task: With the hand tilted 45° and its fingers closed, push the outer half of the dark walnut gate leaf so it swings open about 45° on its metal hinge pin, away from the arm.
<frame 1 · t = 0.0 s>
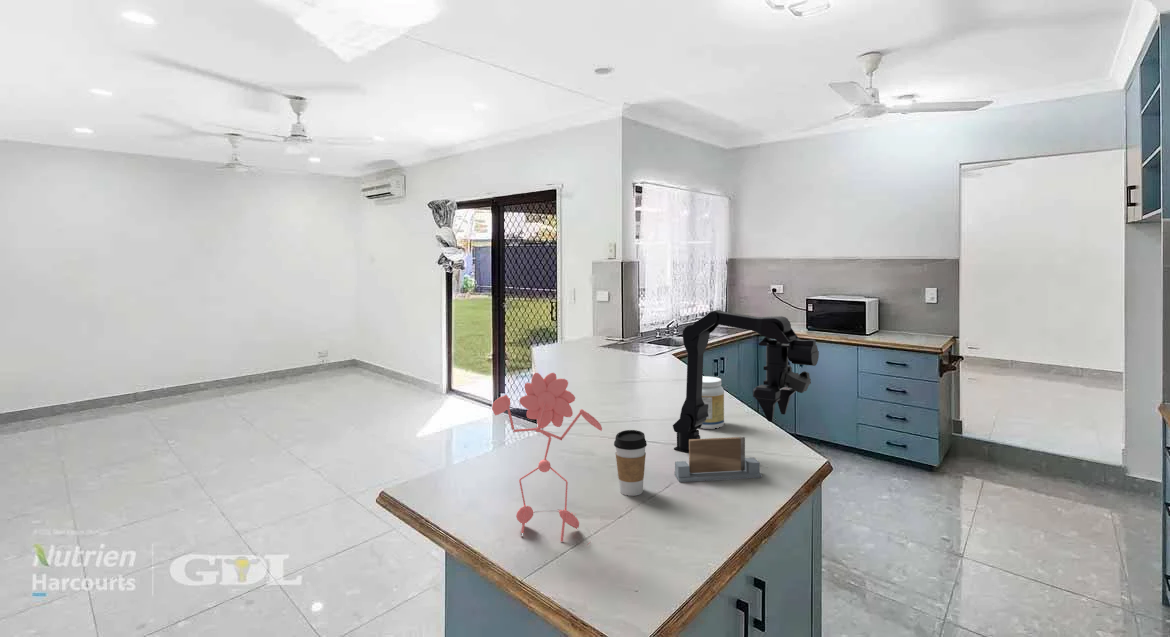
hand: (776, 417, 151), 15 cm above the counter, tool pointing down, fingers open, 9 cm apart
figurine: (552, 526, 122), on the counter
gate frame: (741, 475, 149), on the counter
supplement tub: (706, 425, 196), on the counter
gate leaf: (717, 454, 148), point 6 cm above the counter, hinge at 0.0°
coffee cup: (631, 491, 140), on the counter
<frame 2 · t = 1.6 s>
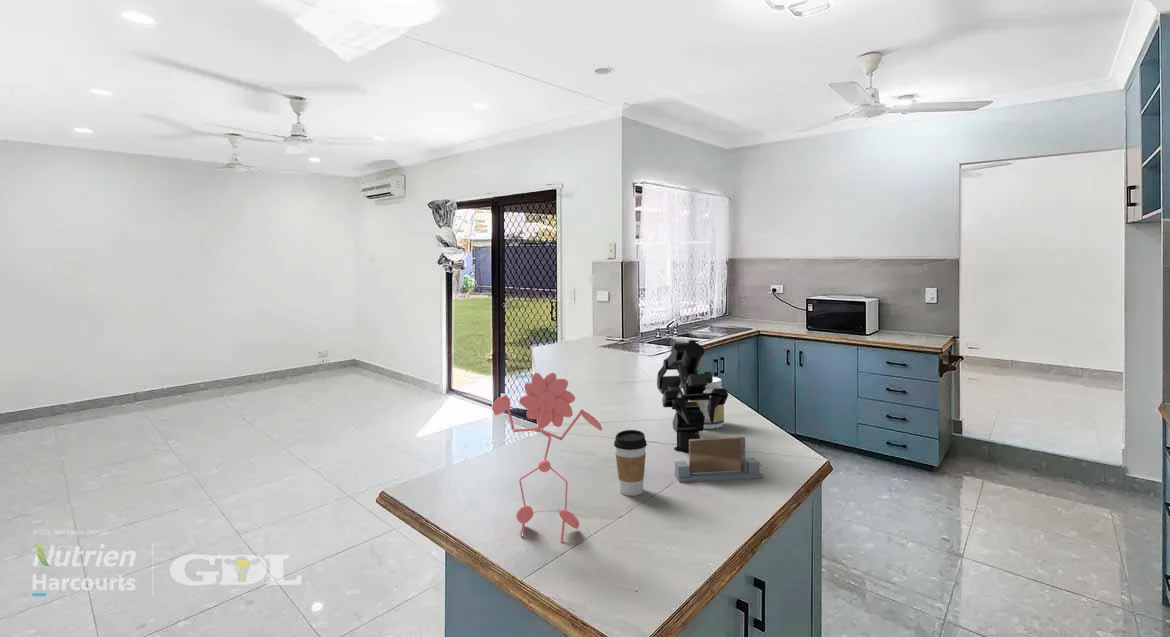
hand: (700, 423, 155), 13 cm above the counter, tool tilted 45°, fingers open, 7 cm apart
nothing on the counter moved.
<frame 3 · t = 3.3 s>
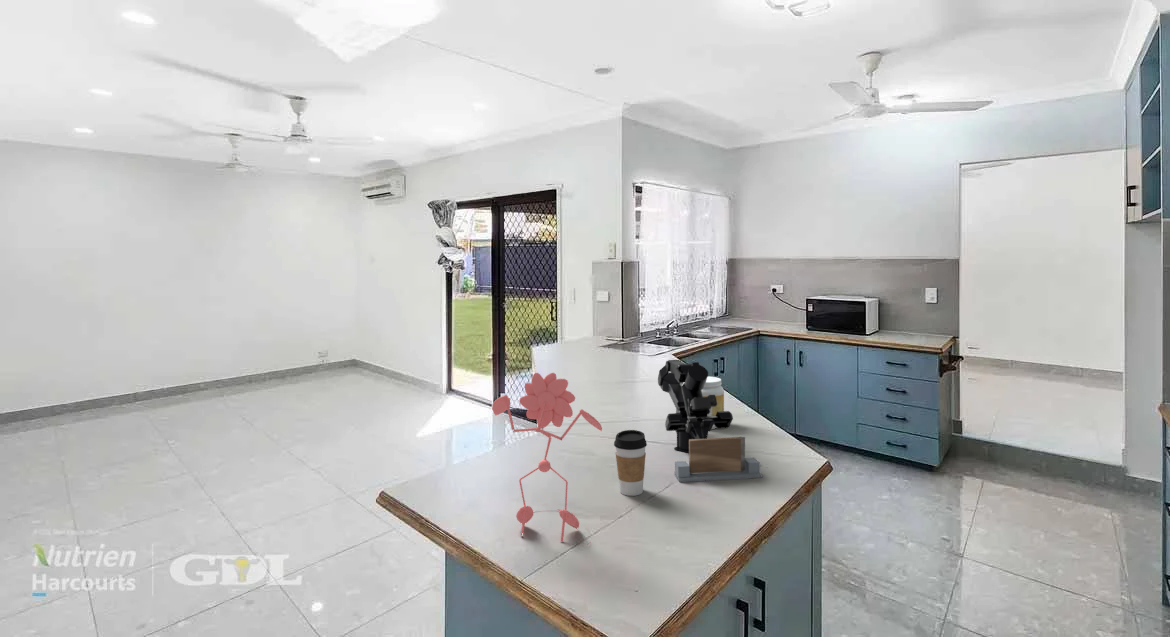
hand: (704, 447, 152), 7 cm above the counter, tool tilted 45°, fingers closed
nothing on the counter moved.
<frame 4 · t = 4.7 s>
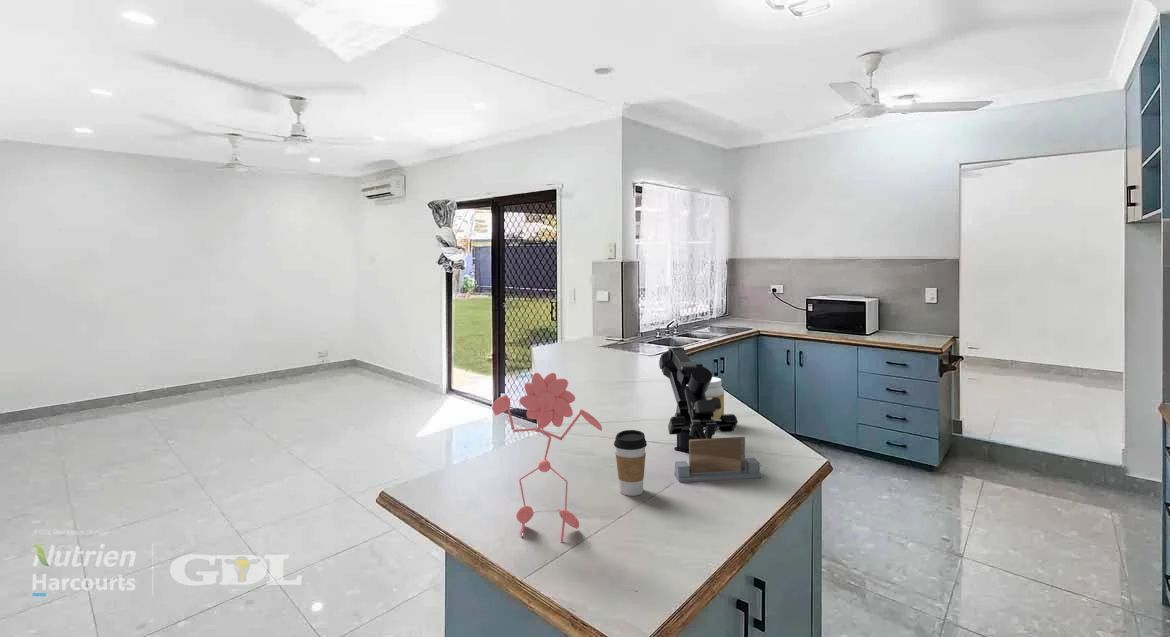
hand: (708, 451, 148), 7 cm above the counter, tool tilted 45°, fingers closed, pressing on gate leaf
gate leaf: (717, 455, 147), point 6 cm above the counter, hinge at 1.0°, touching gripper
everything else where it was.
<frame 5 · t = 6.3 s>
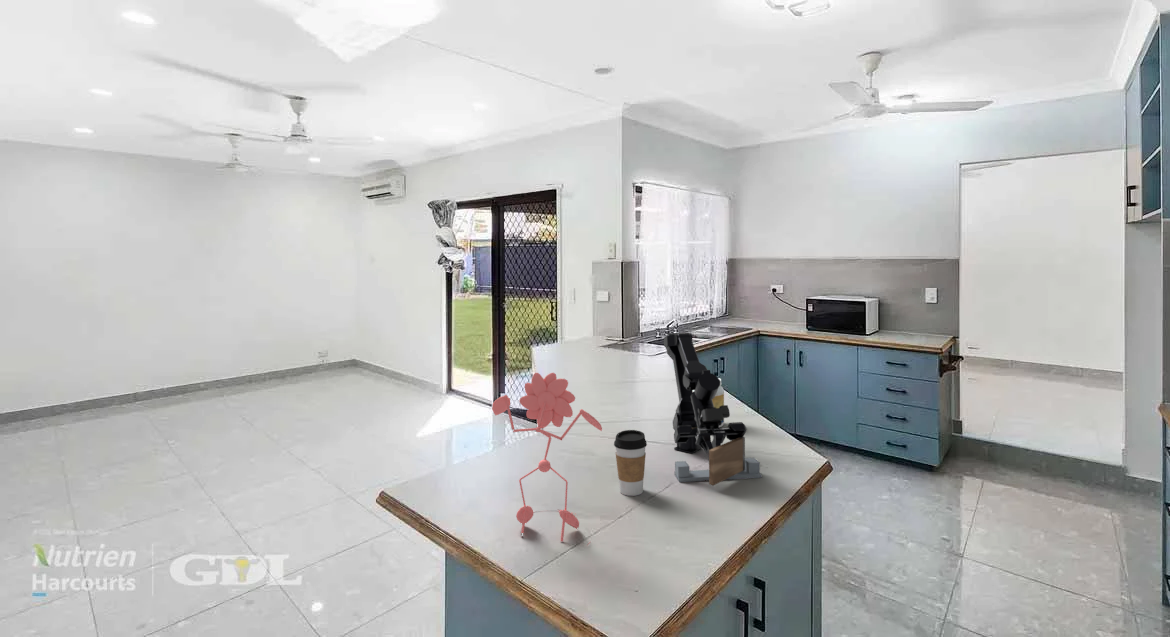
hand: (716, 462, 142), 6 cm above the counter, tool tilted 45°, fingers closed
gate leaf: (727, 460, 143), point 6 cm above the counter, hinge at 38.7°, touching gripper
everything else where it was.
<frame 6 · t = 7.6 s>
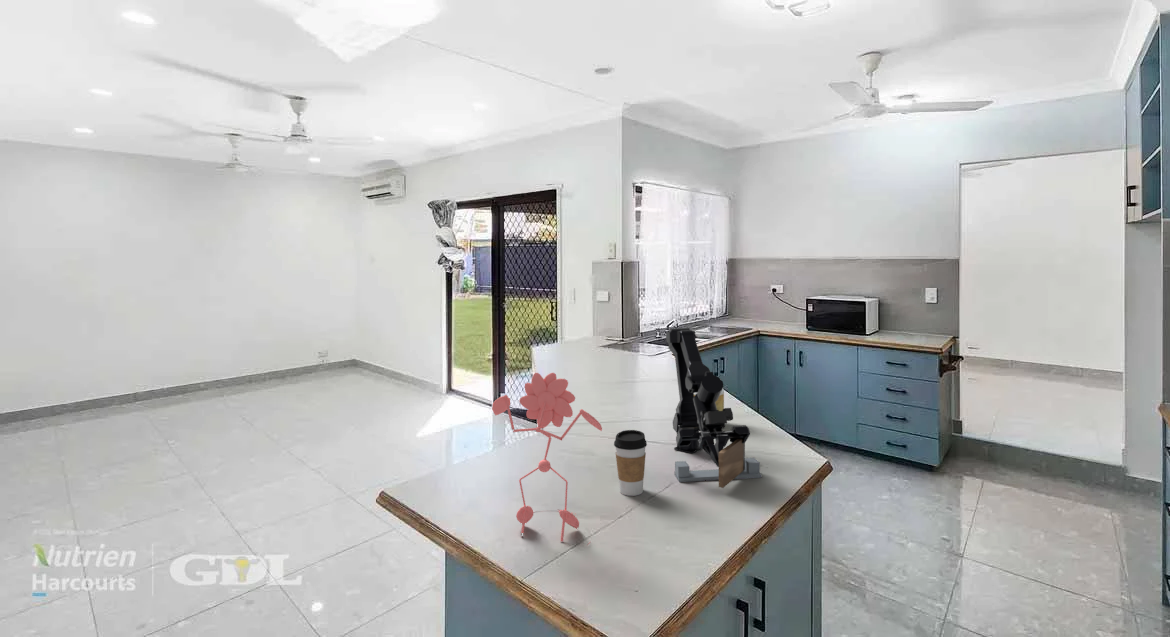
hand: (719, 466, 139), 6 cm above the counter, tool tilted 45°, fingers closed
gate leaf: (732, 461, 143), point 6 cm above the counter, hinge at 49.5°, touching gripper
everything else where it was.
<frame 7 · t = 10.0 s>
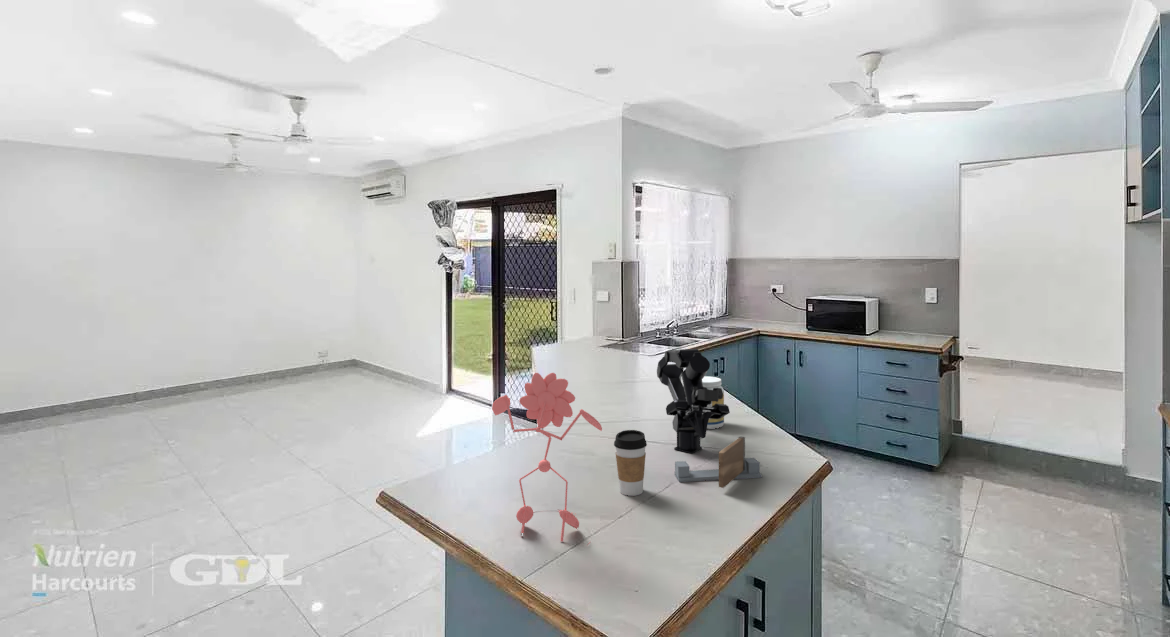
hand: (703, 437, 154), 9 cm above the counter, tool tilted 35°, fingers closed
gate leaf: (732, 461, 143), point 6 cm above the counter, hinge at 49.6°
everything else where it was.
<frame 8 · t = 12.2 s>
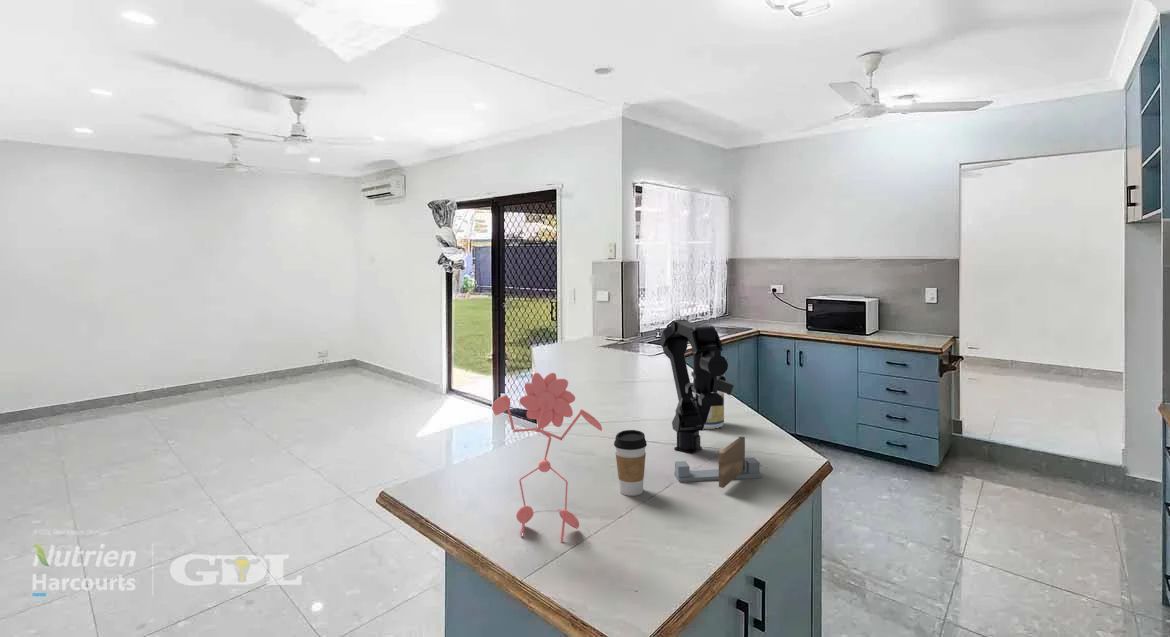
hand: (703, 423, 157), 12 cm above the counter, tool pointing down, fingers closed
nothing on the counter moved.
at the end: gate leaf at +50° (first picture: +0°); coffee cup moved 0.2 cm from its start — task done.
